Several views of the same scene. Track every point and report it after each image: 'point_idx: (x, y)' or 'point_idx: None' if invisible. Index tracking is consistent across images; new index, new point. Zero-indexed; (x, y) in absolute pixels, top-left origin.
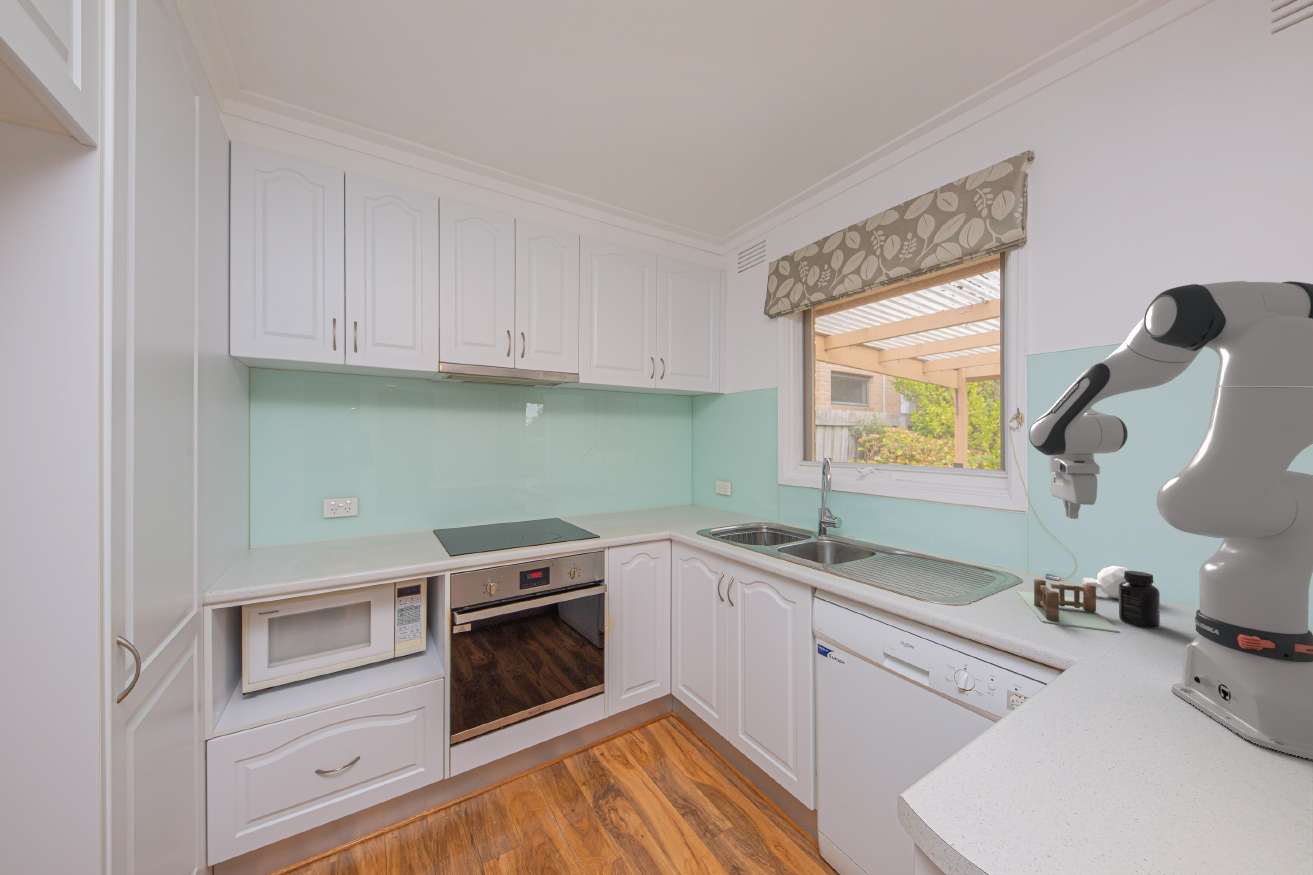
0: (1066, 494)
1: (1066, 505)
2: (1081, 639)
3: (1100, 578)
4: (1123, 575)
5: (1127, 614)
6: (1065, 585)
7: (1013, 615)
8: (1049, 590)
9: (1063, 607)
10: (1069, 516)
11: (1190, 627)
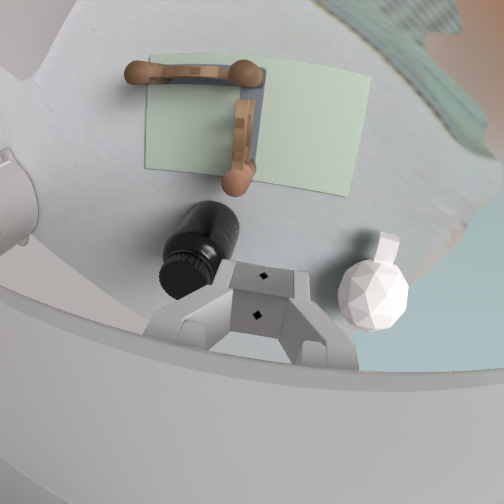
0: (81, 381)
1: (310, 338)
2: (93, 98)
3: (378, 269)
4: (351, 305)
5: (192, 209)
6: (239, 131)
7: (175, 14)
8: (167, 73)
9: (258, 123)
10: (222, 262)
11: None
